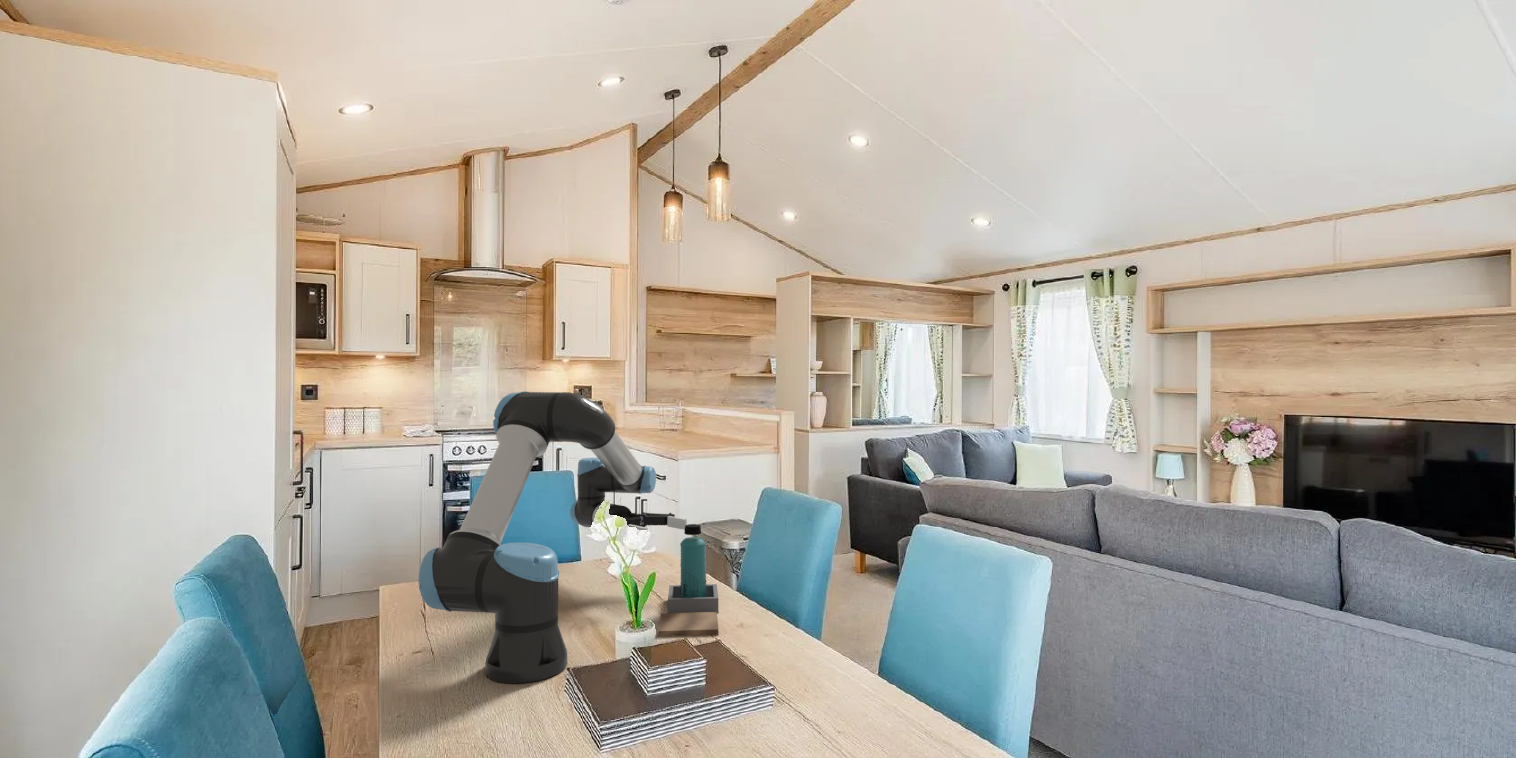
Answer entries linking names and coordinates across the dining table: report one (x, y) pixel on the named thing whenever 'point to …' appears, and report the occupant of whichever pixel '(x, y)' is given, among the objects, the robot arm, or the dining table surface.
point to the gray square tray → (692, 601)
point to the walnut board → (688, 624)
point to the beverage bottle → (693, 564)
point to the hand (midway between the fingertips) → (666, 528)
